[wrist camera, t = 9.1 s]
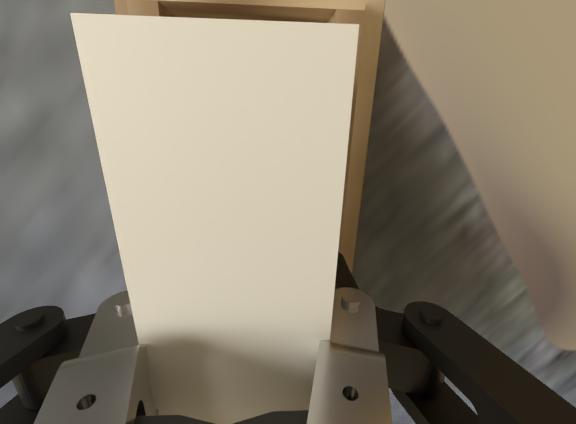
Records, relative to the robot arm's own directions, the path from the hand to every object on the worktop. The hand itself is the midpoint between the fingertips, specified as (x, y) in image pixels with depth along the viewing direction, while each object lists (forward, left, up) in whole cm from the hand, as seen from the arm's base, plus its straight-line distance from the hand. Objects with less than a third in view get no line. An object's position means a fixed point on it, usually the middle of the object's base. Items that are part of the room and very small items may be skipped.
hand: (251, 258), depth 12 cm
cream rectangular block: (0, 0, -2) cm, 2 cm away
